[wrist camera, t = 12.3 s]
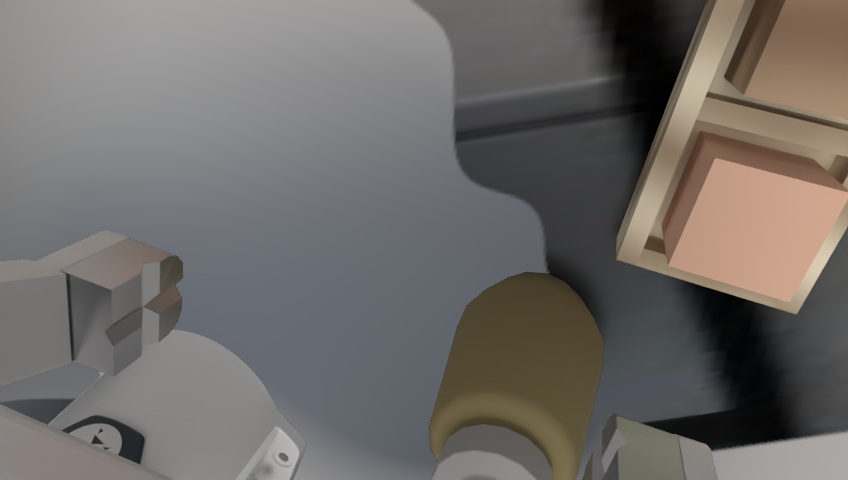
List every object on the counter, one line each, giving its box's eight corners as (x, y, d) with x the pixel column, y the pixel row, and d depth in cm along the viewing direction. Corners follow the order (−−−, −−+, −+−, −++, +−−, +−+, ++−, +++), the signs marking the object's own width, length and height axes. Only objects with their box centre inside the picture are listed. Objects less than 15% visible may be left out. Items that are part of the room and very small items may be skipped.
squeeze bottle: (634, 339, 33) (644, 652, 18) (518, 388, 37) (443, 681, 22) (557, 228, 32) (495, 458, 17) (445, 290, 36) (309, 525, 20)
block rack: (781, 285, 30) (815, 349, 25) (616, 236, 31) (615, 287, 26) (1107, -306, 19) (1288, -416, 14) (833, -333, 21) (904, -440, 16)
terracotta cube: (764, 253, 28) (789, 302, 24) (661, 224, 29) (667, 265, 25) (813, 159, 26) (851, 193, 22) (700, 130, 27) (715, 158, 23)
